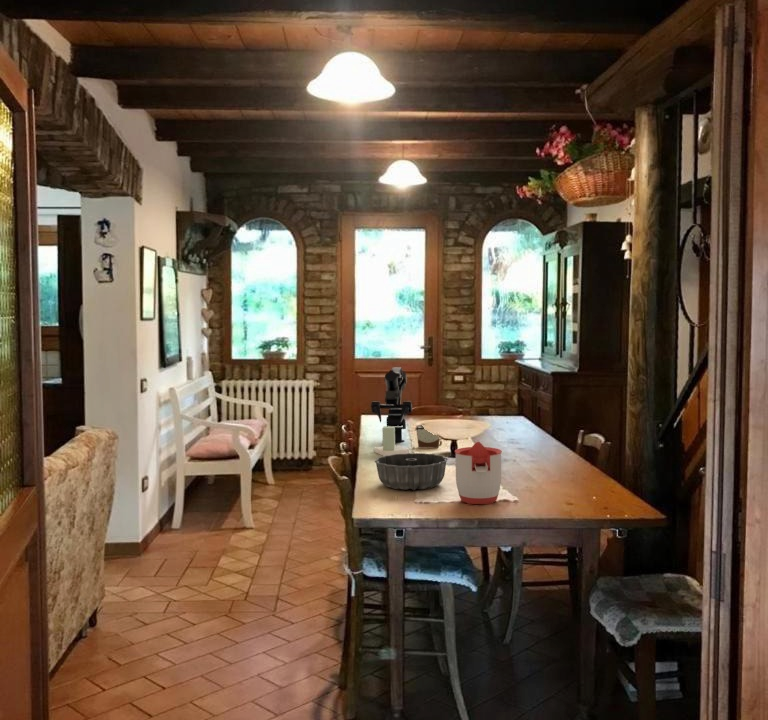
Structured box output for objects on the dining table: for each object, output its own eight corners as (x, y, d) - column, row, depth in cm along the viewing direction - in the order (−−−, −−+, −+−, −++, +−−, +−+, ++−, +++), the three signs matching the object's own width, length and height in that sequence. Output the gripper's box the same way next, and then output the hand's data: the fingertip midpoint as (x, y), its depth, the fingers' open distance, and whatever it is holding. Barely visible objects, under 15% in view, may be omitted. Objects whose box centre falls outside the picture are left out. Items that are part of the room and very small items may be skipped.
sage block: (384, 448, 351) (383, 426, 350) (395, 448, 350) (394, 426, 350) (382, 450, 346) (382, 428, 345) (394, 450, 345) (393, 428, 345)
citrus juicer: (458, 508, 251) (457, 447, 250) (453, 495, 269) (452, 438, 267) (506, 507, 251) (506, 446, 250) (498, 495, 269) (498, 437, 267)
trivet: (374, 451, 354) (374, 447, 354) (398, 449, 359) (398, 445, 359) (384, 456, 343) (384, 451, 343) (409, 453, 348) (409, 449, 348)
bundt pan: (364, 482, 292) (363, 456, 292) (426, 475, 303) (426, 449, 302) (394, 497, 268) (393, 468, 268) (461, 489, 279) (460, 461, 278)
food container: (442, 445, 368) (441, 424, 368) (441, 447, 362) (441, 426, 362) (416, 445, 370) (415, 424, 369) (415, 447, 363) (414, 426, 363)
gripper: (370, 384, 361) (368, 411, 351) (411, 383, 359) (409, 411, 349) (373, 398, 369) (370, 425, 359) (412, 398, 367) (411, 425, 357)
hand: (390, 421), depth 356 cm, fingers open, 9 cm apart
